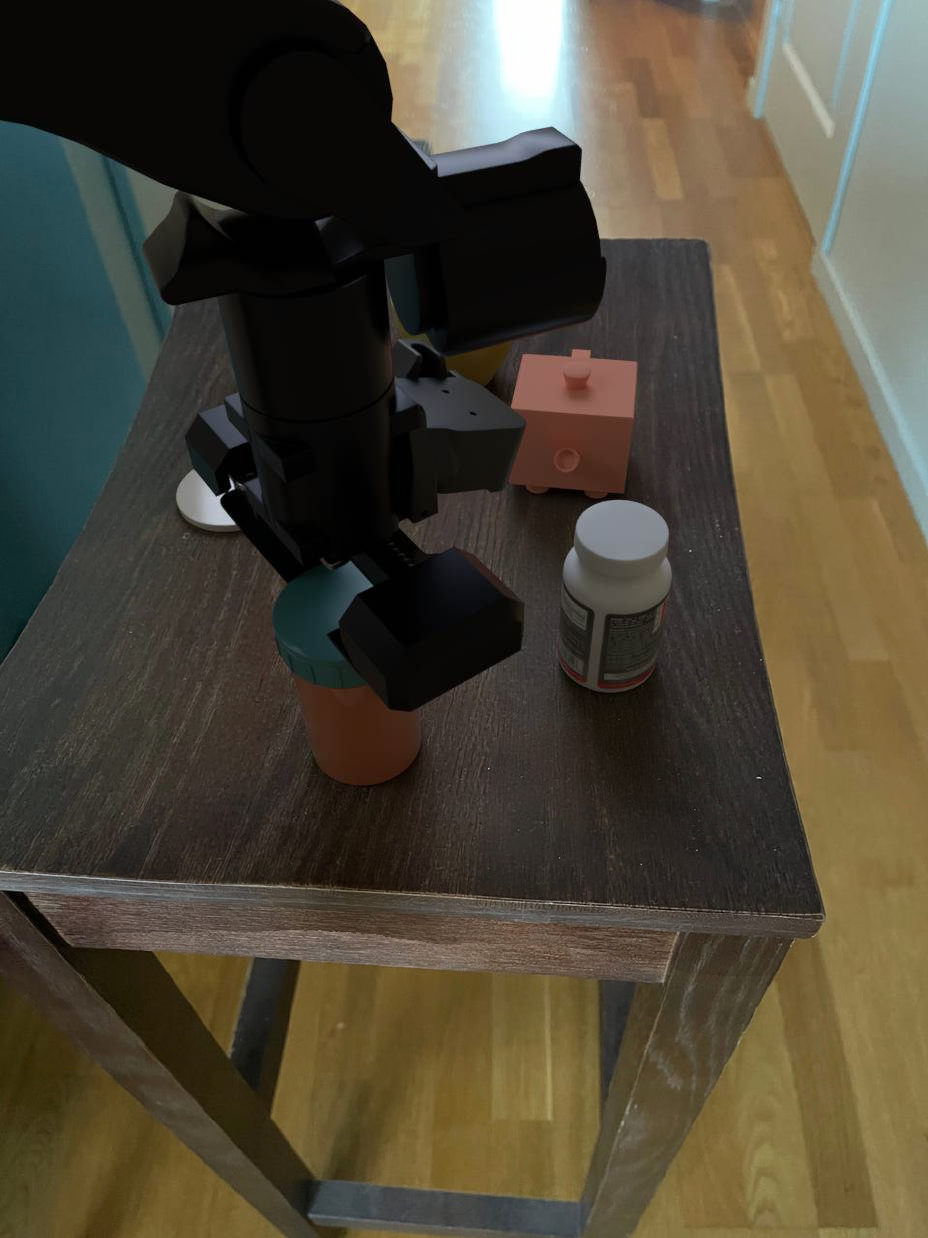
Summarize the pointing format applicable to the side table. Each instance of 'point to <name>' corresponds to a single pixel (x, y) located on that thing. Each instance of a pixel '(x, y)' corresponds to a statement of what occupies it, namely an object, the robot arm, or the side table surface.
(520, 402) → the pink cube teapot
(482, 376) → the flower pot
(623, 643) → the pill bottle
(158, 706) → the side table surface
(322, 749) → the jar
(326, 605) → the lid
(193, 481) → the saucer
